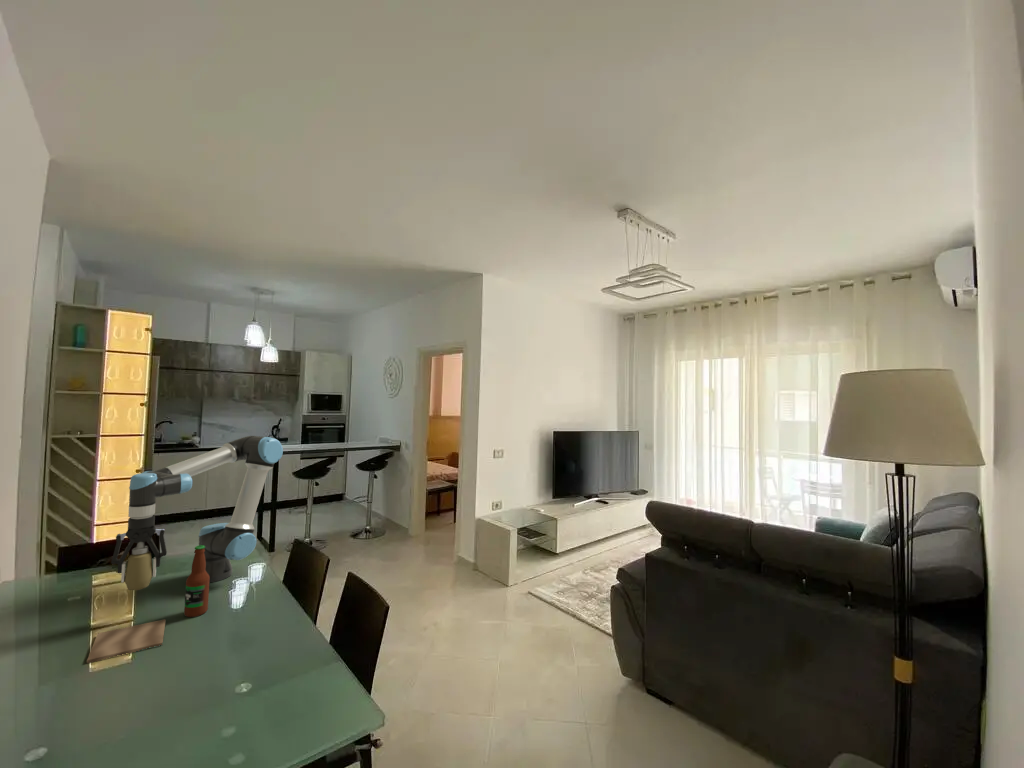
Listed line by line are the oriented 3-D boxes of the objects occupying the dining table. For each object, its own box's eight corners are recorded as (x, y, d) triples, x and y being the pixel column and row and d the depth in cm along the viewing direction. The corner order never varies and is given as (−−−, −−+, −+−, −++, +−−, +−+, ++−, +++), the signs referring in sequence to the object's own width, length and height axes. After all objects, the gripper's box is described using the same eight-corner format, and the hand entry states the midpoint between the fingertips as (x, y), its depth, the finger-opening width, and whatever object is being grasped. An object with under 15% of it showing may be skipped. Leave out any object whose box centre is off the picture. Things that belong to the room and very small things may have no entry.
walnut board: (165, 621, 158) (165, 619, 158) (162, 645, 144) (162, 642, 144) (97, 636, 148) (97, 633, 148) (86, 663, 133) (87, 660, 133)
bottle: (179, 614, 164) (183, 547, 164) (201, 606, 170) (205, 541, 171) (190, 619, 160) (194, 551, 161) (211, 611, 167) (215, 545, 167)
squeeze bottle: (158, 583, 164) (160, 535, 164) (137, 593, 156) (140, 542, 156) (138, 581, 164) (141, 533, 165) (117, 591, 156) (120, 541, 157)
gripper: (177, 510, 170) (175, 568, 169) (105, 517, 158) (102, 581, 157) (177, 514, 164) (174, 575, 163) (101, 523, 151) (98, 589, 151)
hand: (138, 578), depth 160 cm, fingers closed on squeeze bottle, 8 cm apart
